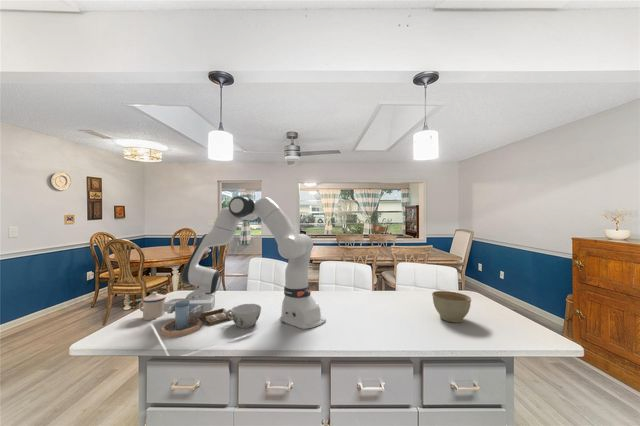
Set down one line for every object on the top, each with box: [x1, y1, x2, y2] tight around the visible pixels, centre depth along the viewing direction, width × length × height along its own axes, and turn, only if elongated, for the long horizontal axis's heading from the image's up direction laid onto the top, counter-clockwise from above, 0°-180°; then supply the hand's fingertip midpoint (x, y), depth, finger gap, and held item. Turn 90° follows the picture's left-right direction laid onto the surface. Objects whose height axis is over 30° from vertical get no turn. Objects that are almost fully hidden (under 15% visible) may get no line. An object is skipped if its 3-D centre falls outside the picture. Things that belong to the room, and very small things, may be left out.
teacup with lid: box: [138, 291, 167, 321], centre depth 118 cm, size 12×9×12 cm
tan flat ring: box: [160, 316, 202, 338], centre depth 103 cm, size 14×14×3 cm
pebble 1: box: [209, 315, 217, 321], centre depth 110 cm, size 3×3×3 cm
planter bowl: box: [431, 290, 472, 323], centre depth 116 cm, size 16×16×11 cm
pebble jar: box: [174, 300, 190, 331], centre depth 103 cm, size 5×5×11 cm
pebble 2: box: [219, 313, 226, 319], centre depth 112 cm, size 3×3×3 cm
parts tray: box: [199, 308, 232, 326], centre depth 114 cm, size 13×11×2 cm
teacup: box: [227, 303, 262, 329], centre depth 107 cm, size 15×12×8 cm
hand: (181, 311), depth 102 cm, fingers open, 8 cm apart
